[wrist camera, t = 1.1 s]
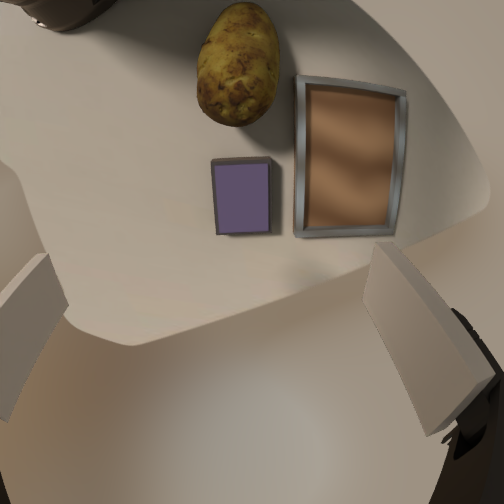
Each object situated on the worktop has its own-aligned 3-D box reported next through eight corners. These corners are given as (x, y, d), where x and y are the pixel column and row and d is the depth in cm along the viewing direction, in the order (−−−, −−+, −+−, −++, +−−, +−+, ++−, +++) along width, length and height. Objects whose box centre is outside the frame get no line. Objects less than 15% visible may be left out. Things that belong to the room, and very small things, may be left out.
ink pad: (212, 158, 28) (210, 162, 26) (269, 156, 28) (271, 159, 26) (217, 227, 32) (216, 236, 30) (269, 225, 32) (272, 234, 30)
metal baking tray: (293, 77, 24) (297, 74, 23) (398, 91, 25) (406, 90, 23) (292, 231, 32) (295, 237, 31) (386, 228, 33) (393, 234, 31)
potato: (304, 36, 22) (326, 13, 15) (252, 134, 27) (256, 141, 20) (233, 6, 20) (231, -26, 13) (179, 105, 25) (158, 102, 18)
